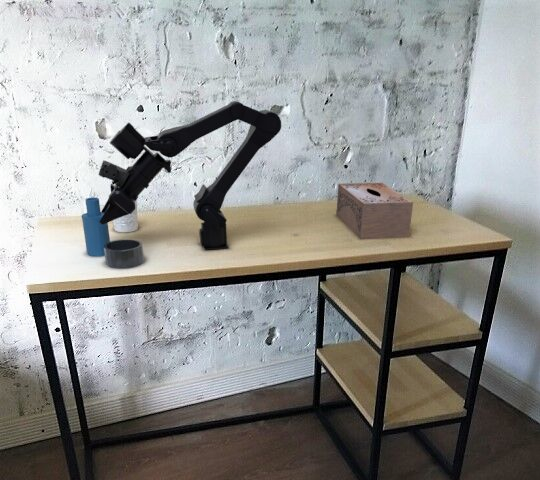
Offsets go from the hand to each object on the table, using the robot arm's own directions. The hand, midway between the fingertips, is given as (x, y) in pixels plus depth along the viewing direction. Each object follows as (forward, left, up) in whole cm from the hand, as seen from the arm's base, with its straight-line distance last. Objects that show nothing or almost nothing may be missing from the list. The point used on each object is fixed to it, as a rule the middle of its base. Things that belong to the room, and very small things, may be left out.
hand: (101, 218), depth 142 cm
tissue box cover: (-78, -6, -9) cm, 79 cm away
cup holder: (-4, +9, -9) cm, 13 cm away
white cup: (-6, -20, -9) cm, 23 cm away
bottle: (+2, 0, -9) cm, 9 cm away
